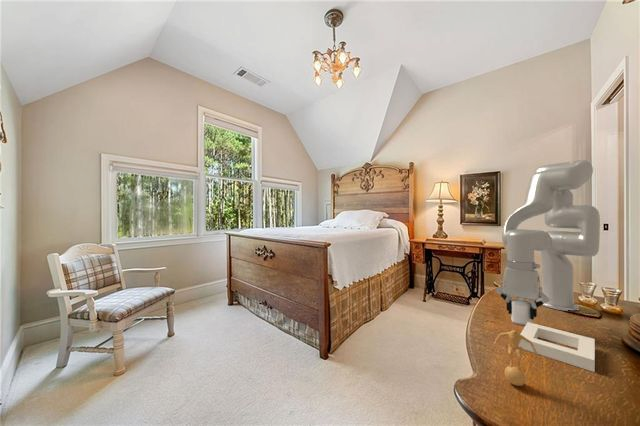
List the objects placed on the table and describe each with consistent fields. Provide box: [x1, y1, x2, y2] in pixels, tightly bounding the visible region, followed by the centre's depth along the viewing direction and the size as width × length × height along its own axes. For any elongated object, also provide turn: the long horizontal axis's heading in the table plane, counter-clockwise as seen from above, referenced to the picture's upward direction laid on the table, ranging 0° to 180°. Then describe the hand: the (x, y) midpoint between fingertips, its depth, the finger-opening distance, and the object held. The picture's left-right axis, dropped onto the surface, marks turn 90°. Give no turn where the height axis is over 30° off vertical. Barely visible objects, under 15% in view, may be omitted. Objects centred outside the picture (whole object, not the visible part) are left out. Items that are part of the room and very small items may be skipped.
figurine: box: [493, 329, 539, 387], centre depth 58 cm, size 8×6×12 cm
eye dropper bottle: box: [510, 297, 533, 326], centre depth 87 cm, size 4×6×12 cm
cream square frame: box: [519, 322, 596, 373], centre depth 71 cm, size 15×15×3 cm
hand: (521, 315), depth 87 cm, fingers closed on eye dropper bottle, 5 cm apart
